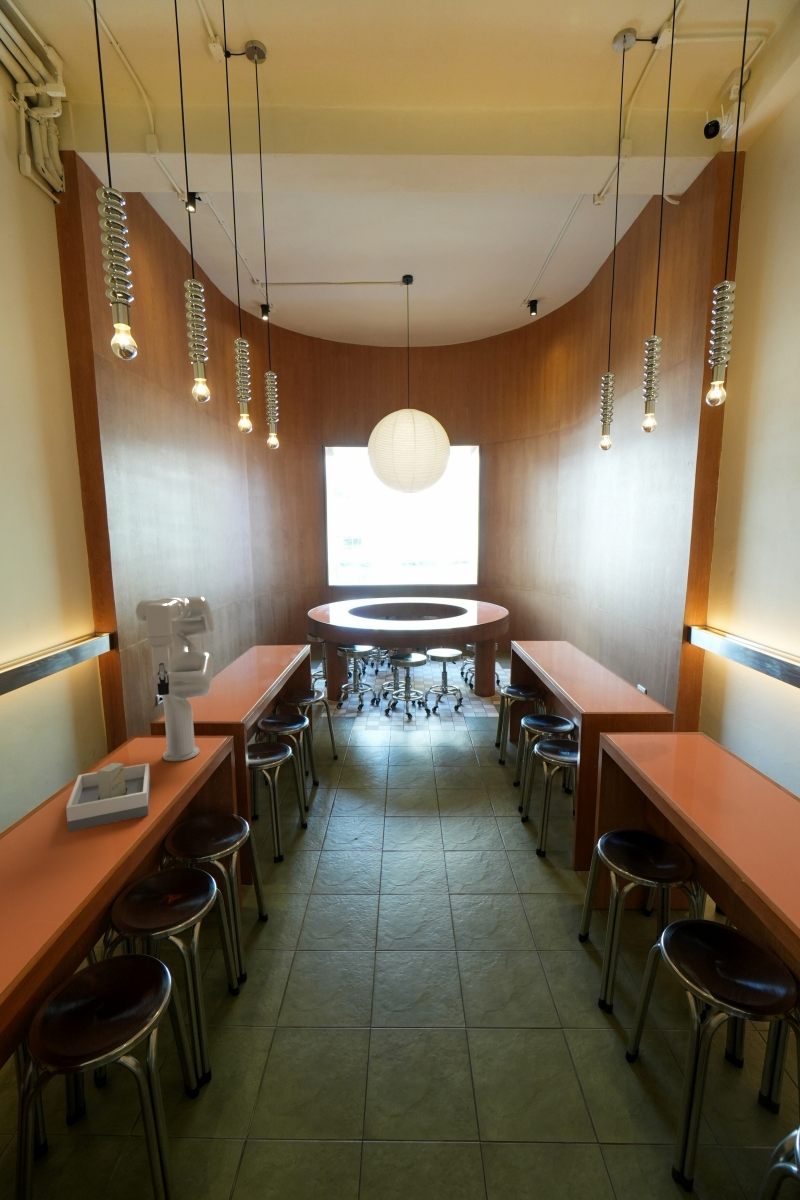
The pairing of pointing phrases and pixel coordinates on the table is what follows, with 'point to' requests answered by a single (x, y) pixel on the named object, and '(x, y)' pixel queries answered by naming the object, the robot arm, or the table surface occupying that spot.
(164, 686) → the robot arm
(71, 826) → the bore box
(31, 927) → the table surface
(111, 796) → the skincare box
